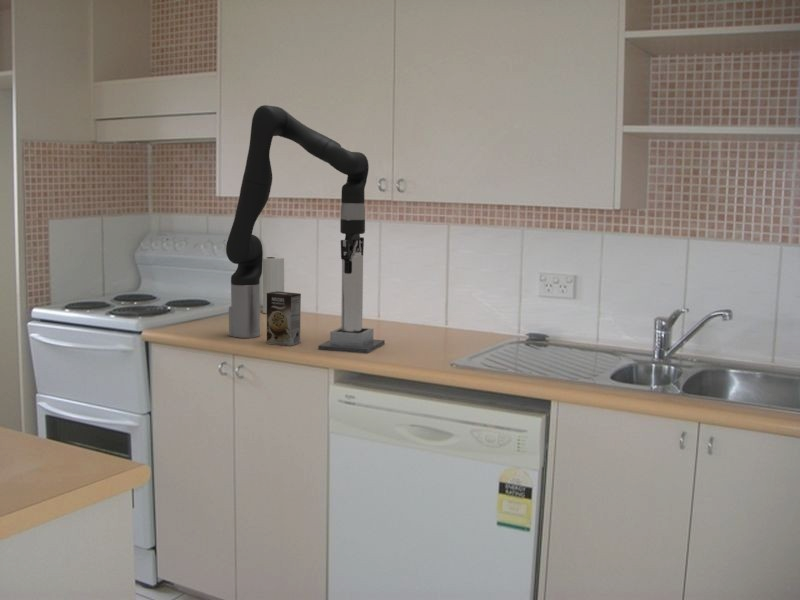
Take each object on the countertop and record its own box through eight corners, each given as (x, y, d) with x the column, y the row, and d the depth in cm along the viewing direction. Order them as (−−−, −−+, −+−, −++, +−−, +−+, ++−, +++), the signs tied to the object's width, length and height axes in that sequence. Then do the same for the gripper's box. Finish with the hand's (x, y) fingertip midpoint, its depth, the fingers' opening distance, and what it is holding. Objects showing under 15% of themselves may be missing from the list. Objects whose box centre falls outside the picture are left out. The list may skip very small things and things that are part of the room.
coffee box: (265, 343, 282) (265, 292, 279) (277, 340, 287) (276, 290, 285) (290, 346, 278) (290, 295, 275) (301, 343, 283) (301, 292, 281)
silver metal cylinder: (359, 334, 274) (360, 252, 271) (338, 332, 276) (339, 252, 272) (364, 330, 281) (365, 251, 277) (344, 329, 282) (345, 250, 278)
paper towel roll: (259, 313, 342) (259, 257, 339) (271, 311, 346) (271, 256, 343) (272, 315, 337) (272, 258, 334) (284, 313, 342) (284, 257, 339)
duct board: (318, 349, 274) (318, 332, 273) (337, 340, 289) (337, 324, 288) (367, 353, 269) (367, 336, 268) (384, 344, 284) (384, 327, 283)
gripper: (349, 216, 281) (349, 269, 283) (332, 218, 267) (332, 274, 270) (372, 217, 279) (371, 270, 281) (355, 219, 265) (355, 275, 267)
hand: (352, 272), depth 275 cm, fingers closed on silver metal cylinder, 6 cm apart
